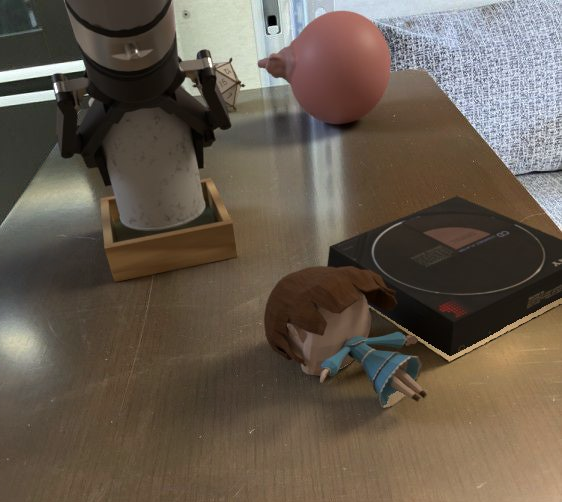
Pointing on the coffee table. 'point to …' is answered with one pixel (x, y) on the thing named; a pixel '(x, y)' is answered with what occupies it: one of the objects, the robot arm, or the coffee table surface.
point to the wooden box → (168, 240)
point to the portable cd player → (458, 271)
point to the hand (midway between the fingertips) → (152, 165)
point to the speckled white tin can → (153, 170)
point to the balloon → (335, 67)
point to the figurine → (339, 327)
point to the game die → (226, 83)
